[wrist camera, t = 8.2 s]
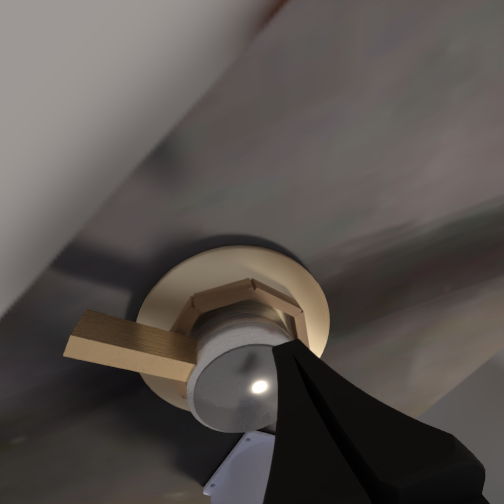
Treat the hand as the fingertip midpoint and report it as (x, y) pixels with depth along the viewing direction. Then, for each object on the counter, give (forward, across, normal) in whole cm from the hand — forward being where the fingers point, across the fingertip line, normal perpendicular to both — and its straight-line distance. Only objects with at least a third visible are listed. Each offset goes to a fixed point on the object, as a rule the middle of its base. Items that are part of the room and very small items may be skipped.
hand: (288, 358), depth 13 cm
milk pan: (+8, +5, +3) cm, 10 cm away
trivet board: (+9, +2, +5) cm, 11 cm away
